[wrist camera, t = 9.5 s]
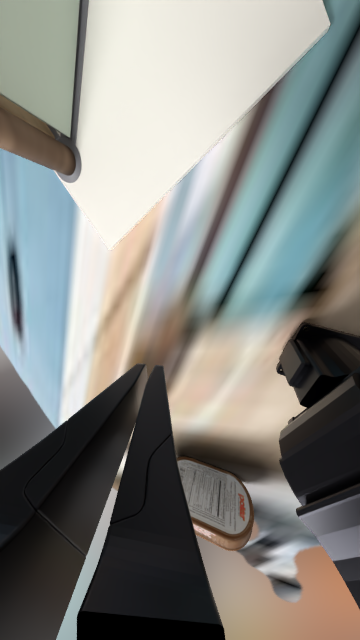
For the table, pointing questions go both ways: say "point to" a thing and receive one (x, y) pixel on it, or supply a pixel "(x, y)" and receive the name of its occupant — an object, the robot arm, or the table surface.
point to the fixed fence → (32, 139)
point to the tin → (217, 504)
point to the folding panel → (39, 58)
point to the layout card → (169, 92)
